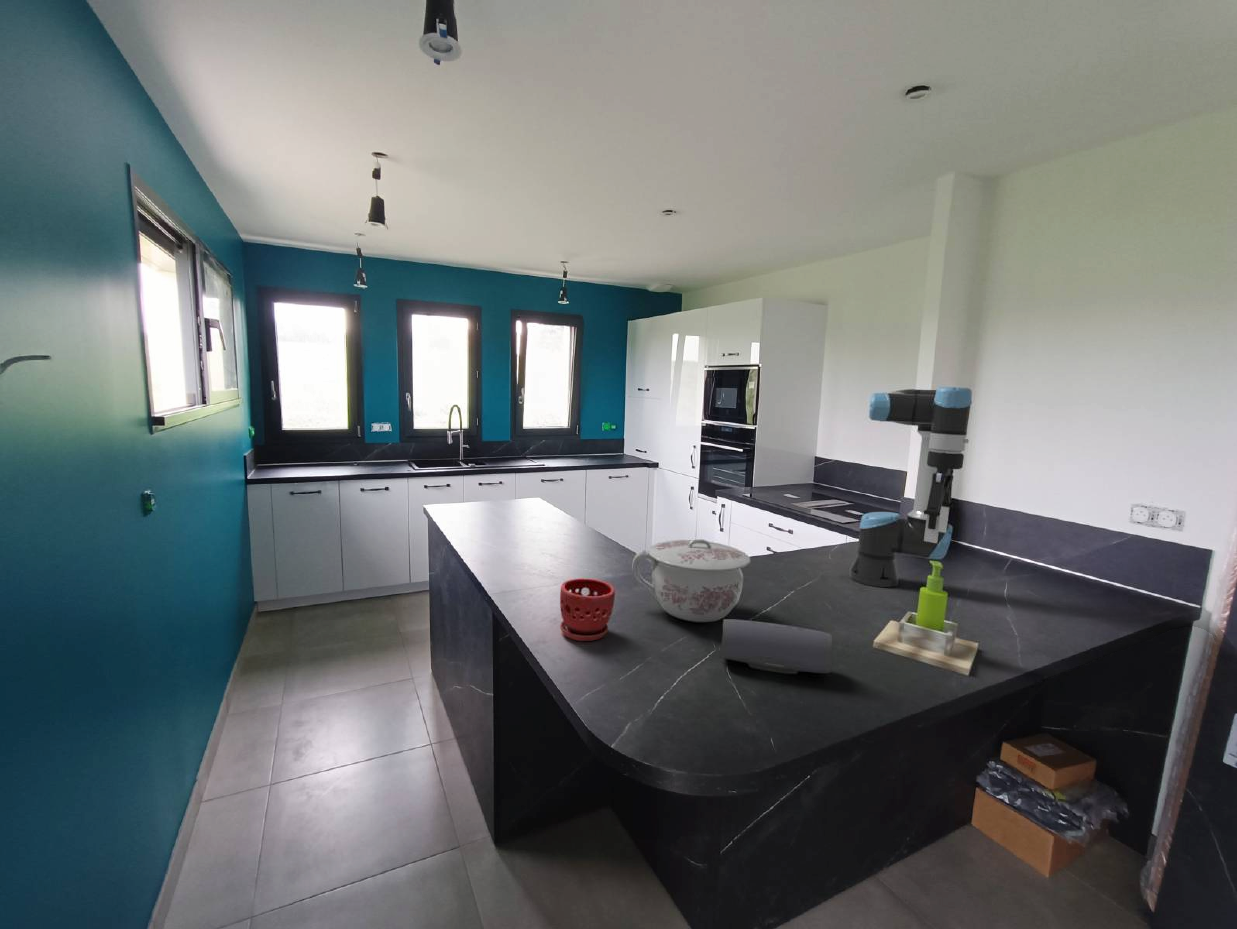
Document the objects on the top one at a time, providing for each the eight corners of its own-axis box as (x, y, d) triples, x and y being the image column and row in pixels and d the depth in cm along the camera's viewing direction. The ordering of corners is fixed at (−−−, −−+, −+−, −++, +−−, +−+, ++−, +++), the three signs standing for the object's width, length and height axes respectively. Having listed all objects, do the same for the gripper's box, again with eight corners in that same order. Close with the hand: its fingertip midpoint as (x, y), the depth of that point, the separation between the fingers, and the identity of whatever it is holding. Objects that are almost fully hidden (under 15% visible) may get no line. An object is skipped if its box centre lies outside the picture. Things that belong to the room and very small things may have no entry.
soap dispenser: (937, 637, 140) (947, 561, 137) (943, 649, 133) (954, 568, 131) (911, 633, 141) (920, 557, 139) (916, 644, 135) (926, 565, 132)
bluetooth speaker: (823, 666, 125) (828, 624, 123) (829, 687, 116) (834, 641, 114) (721, 651, 130) (724, 610, 128) (719, 669, 121) (722, 626, 119)
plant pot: (571, 649, 126) (573, 598, 125) (550, 626, 138) (552, 580, 136) (621, 640, 132) (624, 592, 131) (598, 619, 144) (600, 574, 142)
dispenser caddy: (872, 646, 136) (875, 621, 135) (890, 625, 150) (893, 602, 149) (968, 675, 124) (972, 647, 123) (977, 649, 138) (981, 624, 137)
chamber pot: (764, 615, 153) (771, 542, 150) (708, 644, 133) (714, 560, 130) (682, 587, 172) (686, 522, 169) (622, 609, 151) (626, 535, 149)
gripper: (956, 457, 122) (944, 550, 125) (970, 449, 142) (959, 530, 145) (918, 453, 127) (908, 543, 130) (937, 446, 146) (927, 524, 149)
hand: (935, 536), depth 137 cm, fingers open, 13 cm apart
